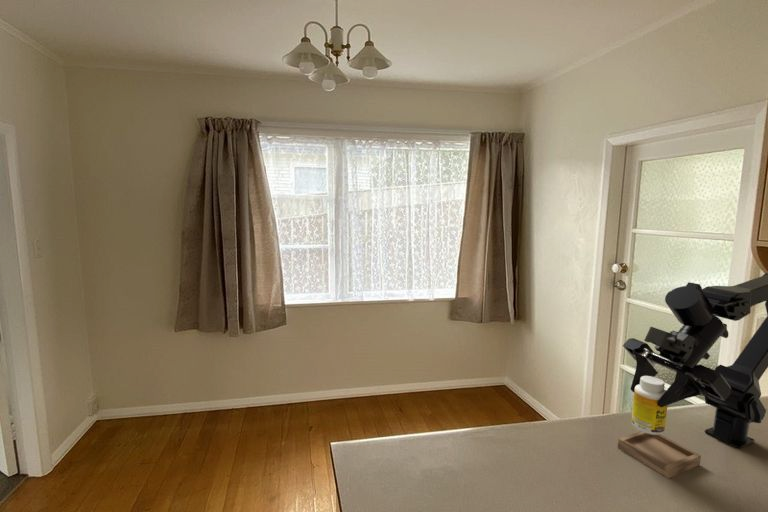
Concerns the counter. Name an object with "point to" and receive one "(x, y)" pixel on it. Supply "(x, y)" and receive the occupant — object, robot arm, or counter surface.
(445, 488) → the counter surface
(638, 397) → the supplement bottle
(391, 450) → the counter surface
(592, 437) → the counter surface
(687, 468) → the walnut tray
